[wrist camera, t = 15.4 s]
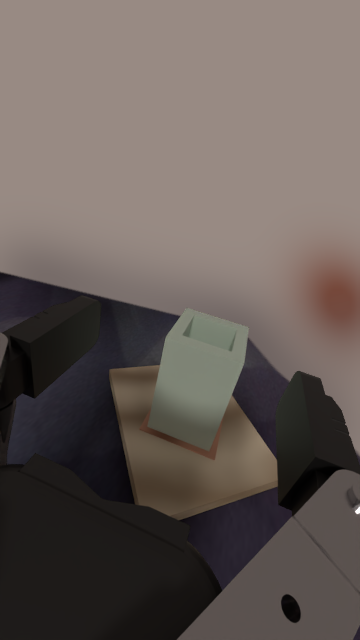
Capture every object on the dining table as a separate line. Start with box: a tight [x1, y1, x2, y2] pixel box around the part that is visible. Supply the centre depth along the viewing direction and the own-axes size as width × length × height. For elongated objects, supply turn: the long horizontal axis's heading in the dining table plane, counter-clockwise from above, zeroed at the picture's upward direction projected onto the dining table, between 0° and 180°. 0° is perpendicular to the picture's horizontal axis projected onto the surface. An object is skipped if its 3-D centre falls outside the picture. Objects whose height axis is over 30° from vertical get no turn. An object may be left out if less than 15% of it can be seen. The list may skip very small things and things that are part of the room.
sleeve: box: [147, 308, 249, 451], centre depth 24 cm, size 6×6×10 cm
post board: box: [109, 365, 278, 520], centre depth 26 cm, size 16×13×6 cm
